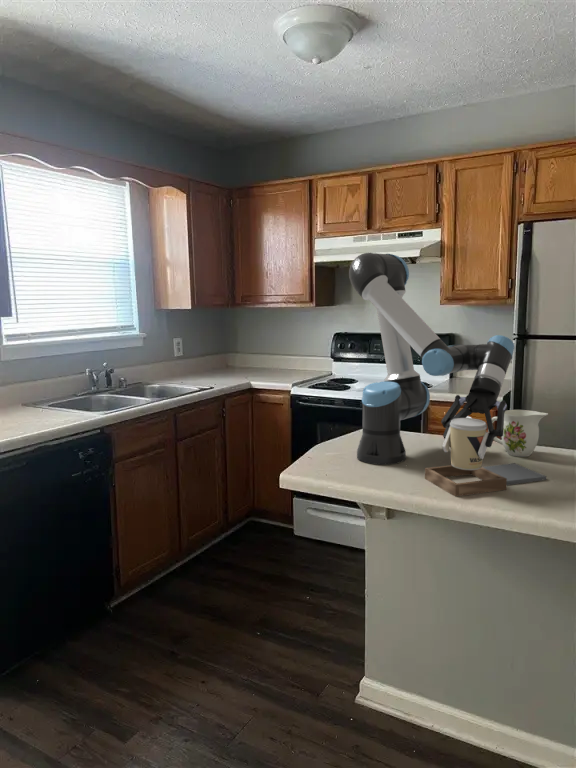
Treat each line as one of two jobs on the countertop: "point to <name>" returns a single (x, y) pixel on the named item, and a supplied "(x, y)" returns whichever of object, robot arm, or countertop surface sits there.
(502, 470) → the rubber mat
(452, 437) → the coffee cup
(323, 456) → the countertop surface
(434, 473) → the cup holder
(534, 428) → the pitcher
